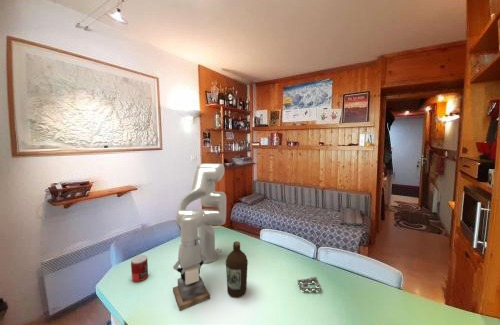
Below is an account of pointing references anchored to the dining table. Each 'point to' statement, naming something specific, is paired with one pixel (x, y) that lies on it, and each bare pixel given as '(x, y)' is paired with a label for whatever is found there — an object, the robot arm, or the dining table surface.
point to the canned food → (139, 268)
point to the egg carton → (305, 284)
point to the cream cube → (191, 274)
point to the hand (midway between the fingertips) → (190, 277)
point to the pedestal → (190, 293)
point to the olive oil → (236, 272)
